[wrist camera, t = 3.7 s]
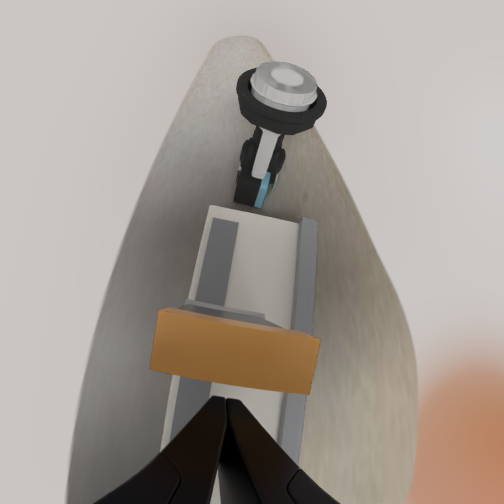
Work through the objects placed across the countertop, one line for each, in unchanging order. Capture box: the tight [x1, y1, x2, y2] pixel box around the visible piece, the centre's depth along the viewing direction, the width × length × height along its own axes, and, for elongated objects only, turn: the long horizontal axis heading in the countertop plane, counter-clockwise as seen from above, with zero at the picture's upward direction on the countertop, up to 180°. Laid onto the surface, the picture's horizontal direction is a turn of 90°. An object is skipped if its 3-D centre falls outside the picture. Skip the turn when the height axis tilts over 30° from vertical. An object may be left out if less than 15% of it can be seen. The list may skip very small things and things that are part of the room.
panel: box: [160, 205, 318, 504], centre depth 17 cm, size 20×7×3 cm, turn 173°
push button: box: [233, 61, 327, 208], centre depth 21 cm, size 7×5×10 cm
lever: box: [149, 299, 321, 395], centre depth 12 cm, size 2×4×10 cm, turn 81°
